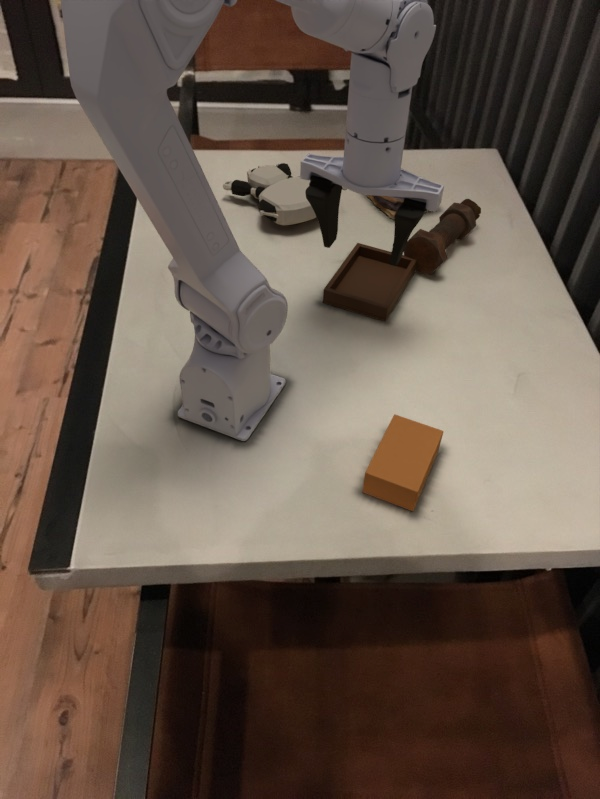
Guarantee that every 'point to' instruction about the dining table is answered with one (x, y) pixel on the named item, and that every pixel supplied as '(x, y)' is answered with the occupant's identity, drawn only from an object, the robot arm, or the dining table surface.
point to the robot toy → (276, 193)
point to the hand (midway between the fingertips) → (362, 251)
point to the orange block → (402, 462)
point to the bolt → (442, 236)
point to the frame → (369, 282)
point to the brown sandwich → (387, 204)
